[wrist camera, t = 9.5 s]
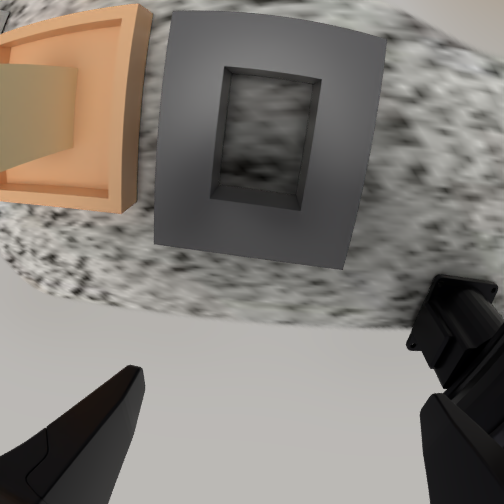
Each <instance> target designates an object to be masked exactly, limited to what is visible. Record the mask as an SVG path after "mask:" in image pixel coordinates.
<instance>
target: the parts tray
mask: <svg viewBox="0 0 504 504" xmlns="http://www.w3.org/2000/svg"><path fill="white" fill-rule="evenodd" d="M152 18H153V13H151V12H150V11H149V10H147V9H146V8H144V7H143V6H141V5H140V4H129V5H121V6H113V7H106V8H100V9H94V10H89V11H83V12H78V13H73V14H69V15H64V16H60V17H56V18H52V19H48V20H44V21H40V22H37V23H33V24H30V25H27V26H23V27H20V28H17V29H14V30H11V31H8V32H5V33H2V34H0V64H32V65H48V66H60V67H71V68H78V76H77V86H76V97H75V111H74V133H73V148H70V149H67V150H63V151H60V152H57V153H54V154H51V155H48V156H44V157H41V158H38V159H36V160H33V161H30V162H27V163H24V164H21V165H19V166H16V167H13V168H10V169H8V170H5V171H3V172H0V201H3V202H14V203H24V204H34V205H44V206H54V207H63V208H73V209H82V210H91V211H100V212H109V213H118V214H122V213H123V212H124V211H126V210H127V209H128V208H130V207H131V206H132V205H133V204H135V203H136V202H137V165H138V144H139V127H140V114H141V102H142V92H143V82H144V73H145V65H146V57H147V50H148V43H149V36H150V30H151V24H152Z"/></svg>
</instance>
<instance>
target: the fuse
mask: <svg viewBox="0 0 504 504" xmlns="http://www.w3.org/2000/svg"><path fill="white" fill-rule="evenodd" d="M77 76H78V68H71V67H60V66H48V65H32V64H0V172H3V171H5V170H8V169H10V168H13V167H16V166H19V165H21V164H24V163H27V162H30V161H33V160H36V159H38V158H41V157H44V156H48V155H51V154H54V153H57V152H60V151H63V150H67V149H70V148H73V133H74V111H75V97H76V86H77Z"/></svg>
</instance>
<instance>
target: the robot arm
mask: <svg viewBox="0 0 504 504" xmlns="http://www.w3.org/2000/svg"><path fill="white" fill-rule="evenodd" d="M440 281H442V282H441V283H440V284H438V283H439V282H440ZM492 288H493V289H492ZM497 291H498V286H497V284H496V283H494V282H489V281H482V280H476V279H469V278H462V277H455V276H447V275H438V276H436V277H435V278H434V280H433V282H432V285H431V287H430V290H429V292H428V295H427V297H426V300H425V302H424V304H423V306H422V308H421V310H420V313H419V315H418V317H417V319H416V322H415V324H414V326H413V328H412V332H411V334H410V336H409V338H408V340H407V342H406V346H407V348H408V350H411V351H422V353H423V355H424V357H425V359H426V361H427V363H428V365H429V367H430V369H434V370H435V372H436V374H437V377H438V378H439V381H440V383H441V385H442V387H443V389H447V390H446V391H445V392H444V393H437V394H436V393H435V394H432V395H431V396H430V397H429V398H428V400H427V401H426V403H425V405H424V406H423V407H422V409H421V412H420V423H421V434H422V447H423V456H424V462H425V469H426V475H427V482H428V489H429V497H430V504H504V319H503V317H502V316H501V315H500V314H499V313H498V311H497V310H496V309H495V308H494V307H493V305H492V302H493V300H494V297H495V295H496V293H497ZM413 343H414V344H413ZM144 393H145V381H144V375H143V369H142V368H141V367H138V366H134V365H128V366H126V367H125V368H124V369H122V370H121V371H120V372H118V373H117V374H116V375H114V376H113V377H112V378H111V379H109V380H108V381H107V382H105V383H104V384H103V385H101V386H100V387H99V388H97V389H96V390H95V391H93V392H92V393H91V394H89V395H88V396H87V397H85V398H84V399H83V400H81V401H80V402H79V403H77V404H76V405H75V406H73V407H72V408H71V409H69V410H68V411H67V412H66V413H64V414H63V415H61V416H60V417H59V418H57V419H56V420H55V421H53V422H52V423H51V424H49V425H48V426H47V428H44V429H43V430H41V431H40V432H38V433H37V434H36V435H34V436H33V437H31V438H30V439H29V440H27V441H26V442H24V443H22V444H21V445H19V446H17V447H16V448H14V449H12V450H11V451H9V452H7V453H5V454H4V455H2V456H0V504H108V502H109V499H110V497H111V494H112V491H113V489H114V486H115V483H116V480H117V478H118V475H119V472H120V470H121V467H122V464H123V461H124V459H125V456H126V454H127V451H128V449H129V446H130V443H131V441H132V438H133V435H134V431H135V428H136V424H137V419H138V415H139V412H140V408H141V404H142V400H143V396H144Z"/></svg>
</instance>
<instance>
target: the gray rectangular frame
mask: <svg viewBox="0 0 504 504" xmlns="http://www.w3.org/2000/svg"><path fill="white" fill-rule="evenodd" d="M386 44H387V39H384V38H380V37H377V36H373V35H370V34H366V33H362V32H358V31H355V30H350V29H346V28H342V27H338V26H333V25H328V24H323V23H318V22H313V21H307V20H302V19H295V18H289V17H282V16H274V15H265V14H255V13H244V12H228V11H173V14H172V20H171V26H170V32H169V38H168V45H167V52H166V60H165V67H164V76H163V84H162V94H161V104H160V114H159V126H158V140H157V155H156V174H155V202H154V244H157V245H164V246H171V247H178V248H185V249H192V250H200V251H207V252H214V253H221V254H229V255H236V256H243V257H251V258H258V259H265V260H273V261H280V262H287V263H295V264H302V265H310V266H317V267H325V268H332V269H340V270H343V267H344V263H345V260H346V256H347V252H348V248H349V244H350V241H351V237H352V233H353V229H354V224H355V220H356V216H357V212H358V208H359V203H360V199H361V194H362V190H363V185H364V181H365V176H366V171H367V166H368V161H369V156H370V151H371V146H372V140H373V135H374V129H375V123H376V117H377V111H378V105H379V98H380V92H381V85H382V77H383V70H384V62H385V53H386ZM232 73H236V74H246V75H255V76H264V77H271V78H279V79H286V80H292V81H298V82H304V83H310V84H314V85H313V92H312V99H311V105H310V112H309V119H308V125H307V132H306V138H305V144H304V151H303V157H302V163H301V169H300V175H299V181H298V187H297V193H296V195H292V194H285V193H278V192H271V191H264V190H257V189H249V188H242V187H234V186H226V185H219V180H220V170H221V160H222V151H223V142H224V133H225V125H226V116H227V108H228V100H229V92H230V84H231V76H232Z"/></svg>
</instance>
